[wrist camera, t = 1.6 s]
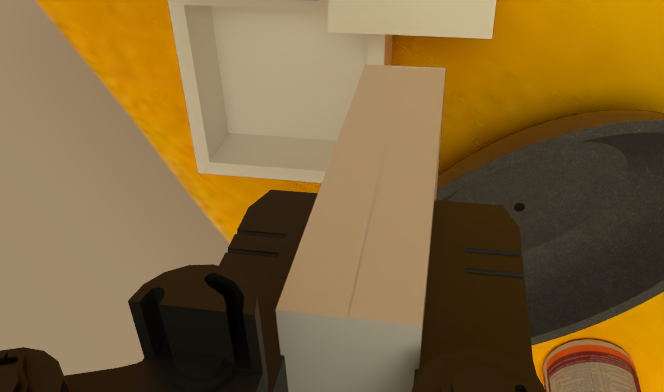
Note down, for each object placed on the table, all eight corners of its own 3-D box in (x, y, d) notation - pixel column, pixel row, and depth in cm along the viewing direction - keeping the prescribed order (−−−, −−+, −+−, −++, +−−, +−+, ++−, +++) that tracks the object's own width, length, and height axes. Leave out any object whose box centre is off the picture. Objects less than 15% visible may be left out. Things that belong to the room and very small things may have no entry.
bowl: (754, 176, 34) (802, 248, 30) (427, 318, 45) (421, 388, 40) (652, 1, 30) (687, 51, 25) (318, 204, 41) (296, 267, 36)
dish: (195, -36, 33) (165, -13, 30) (394, -31, 32) (385, -6, 28) (220, 138, 39) (198, 173, 36) (389, 150, 38) (381, 187, 34)
